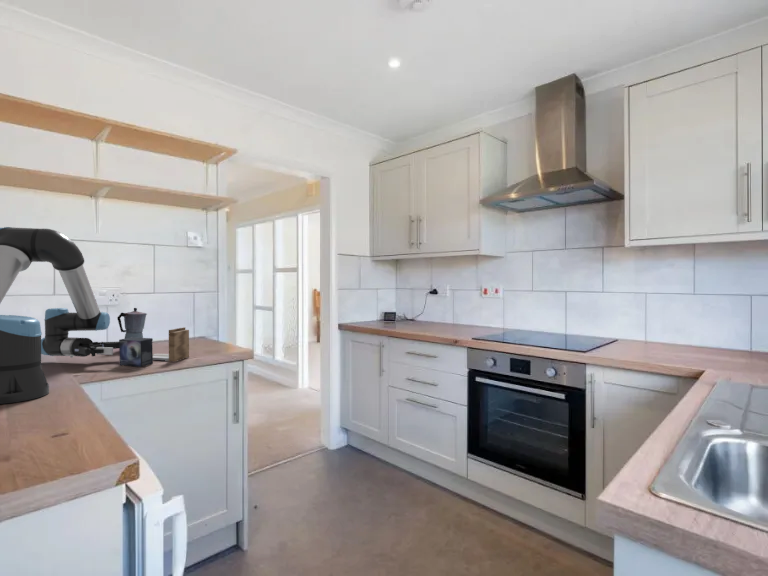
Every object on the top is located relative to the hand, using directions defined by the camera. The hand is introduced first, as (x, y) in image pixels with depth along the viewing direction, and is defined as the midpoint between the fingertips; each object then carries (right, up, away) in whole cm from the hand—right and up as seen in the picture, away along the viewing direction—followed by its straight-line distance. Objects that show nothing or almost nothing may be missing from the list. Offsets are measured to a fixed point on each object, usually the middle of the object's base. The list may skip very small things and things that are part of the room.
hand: (125, 348), depth 165 cm
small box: (+5, -7, -1) cm, 8 cm away
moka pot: (-19, -6, +37) cm, 42 cm away
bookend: (+10, -6, +11) cm, 16 cm away
